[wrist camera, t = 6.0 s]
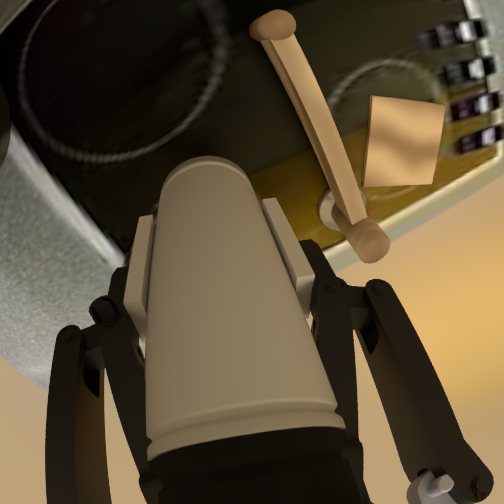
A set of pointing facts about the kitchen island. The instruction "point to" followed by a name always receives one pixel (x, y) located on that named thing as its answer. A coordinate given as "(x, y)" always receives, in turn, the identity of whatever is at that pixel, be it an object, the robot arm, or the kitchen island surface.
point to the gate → (320, 133)
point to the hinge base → (330, 208)
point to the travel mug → (233, 357)
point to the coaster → (401, 141)
